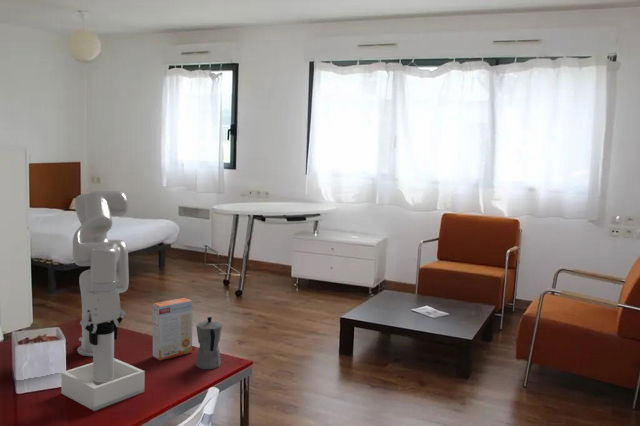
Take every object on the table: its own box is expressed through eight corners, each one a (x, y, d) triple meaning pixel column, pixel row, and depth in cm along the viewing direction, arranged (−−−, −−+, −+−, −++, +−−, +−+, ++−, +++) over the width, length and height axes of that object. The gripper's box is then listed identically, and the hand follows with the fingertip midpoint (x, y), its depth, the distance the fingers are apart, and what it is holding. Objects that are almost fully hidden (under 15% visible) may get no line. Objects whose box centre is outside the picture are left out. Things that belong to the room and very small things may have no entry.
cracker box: (184, 348, 227) (185, 296, 225) (192, 353, 223) (193, 300, 220) (151, 356, 218) (152, 302, 215) (159, 361, 213) (159, 306, 211)
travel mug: (88, 383, 183) (87, 322, 181) (103, 376, 189) (102, 317, 187) (103, 387, 181) (103, 326, 178) (118, 380, 187) (118, 320, 184)
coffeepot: (193, 359, 217) (194, 312, 215) (218, 357, 220) (219, 311, 218) (198, 375, 203) (199, 325, 201) (225, 372, 206) (227, 323, 204)
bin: (61, 393, 184) (61, 372, 183) (111, 376, 198) (111, 356, 197) (94, 411, 173) (94, 388, 172) (144, 391, 188) (144, 371, 187)
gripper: (120, 279, 191) (120, 332, 193) (71, 288, 177) (71, 345, 179) (134, 283, 186) (133, 337, 188) (85, 293, 172) (85, 351, 174)
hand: (103, 340), depth 184 cm, fingers closed on travel mug, 6 cm apart
